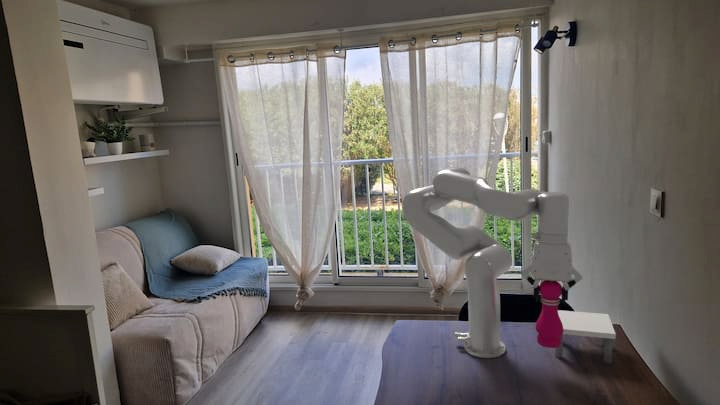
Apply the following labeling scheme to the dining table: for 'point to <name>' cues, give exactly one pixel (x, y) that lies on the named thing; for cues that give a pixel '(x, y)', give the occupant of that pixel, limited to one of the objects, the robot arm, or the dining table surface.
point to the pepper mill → (549, 315)
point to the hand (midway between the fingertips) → (550, 300)
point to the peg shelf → (588, 330)
